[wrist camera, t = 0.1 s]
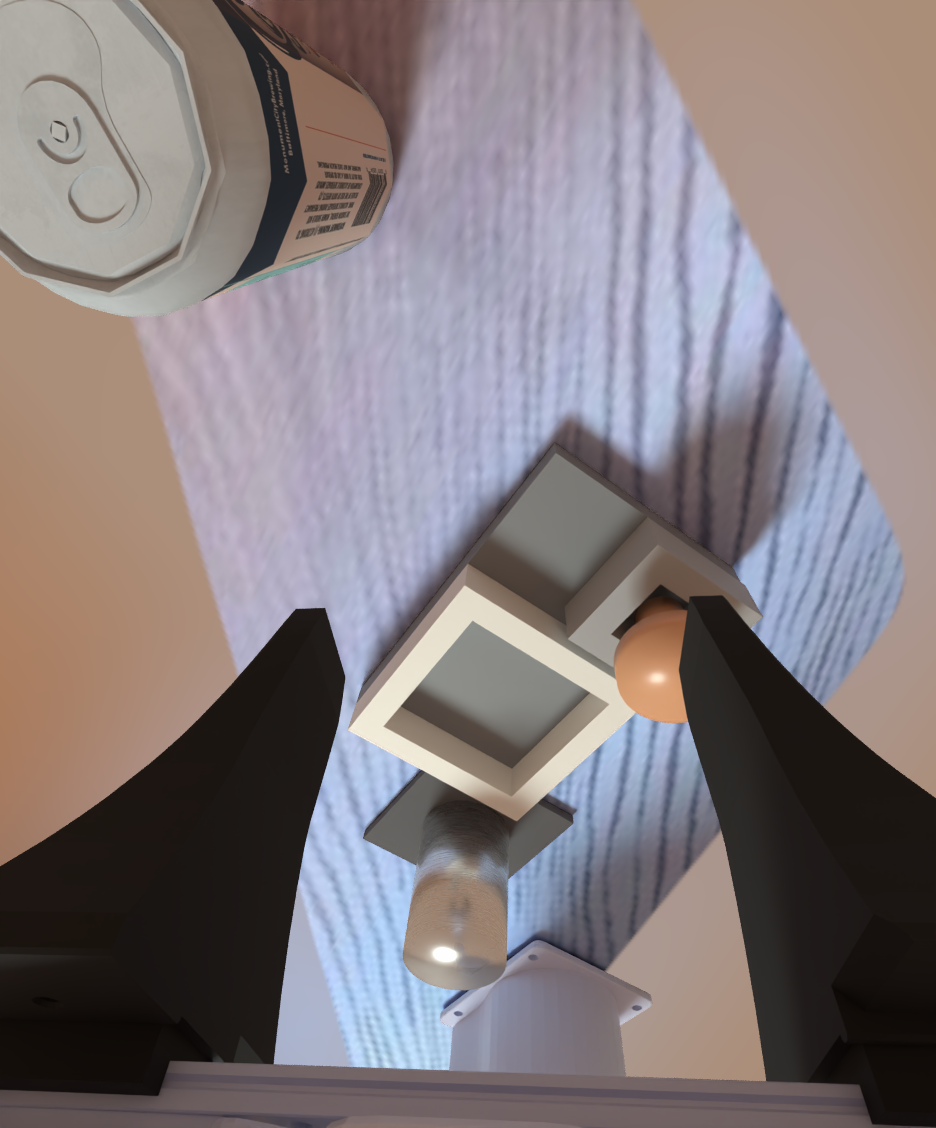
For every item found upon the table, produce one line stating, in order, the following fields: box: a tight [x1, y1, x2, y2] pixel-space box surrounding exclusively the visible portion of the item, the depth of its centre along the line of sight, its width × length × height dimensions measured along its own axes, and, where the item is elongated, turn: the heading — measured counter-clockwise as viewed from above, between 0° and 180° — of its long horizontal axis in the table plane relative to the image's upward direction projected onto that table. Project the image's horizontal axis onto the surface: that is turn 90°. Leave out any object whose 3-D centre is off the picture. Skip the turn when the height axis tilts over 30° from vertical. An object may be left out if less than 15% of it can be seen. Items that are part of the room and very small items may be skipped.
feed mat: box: [363, 770, 573, 879], centre depth 31 cm, size 7×7×1 cm
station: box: [348, 443, 763, 821], centre depth 25 cm, size 13×8×3 cm, turn 146°
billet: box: [403, 800, 509, 990], centre depth 29 cm, size 4×4×6 cm
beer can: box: [0, 0, 393, 317], centre depth 14 cm, size 5×5×12 cm
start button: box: [613, 596, 688, 723], centre depth 21 cm, size 4×4×3 cm
